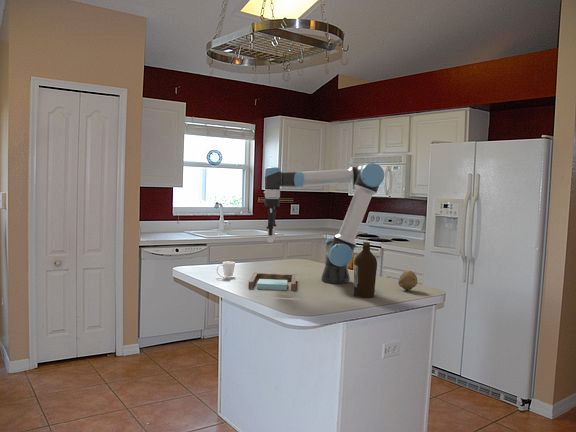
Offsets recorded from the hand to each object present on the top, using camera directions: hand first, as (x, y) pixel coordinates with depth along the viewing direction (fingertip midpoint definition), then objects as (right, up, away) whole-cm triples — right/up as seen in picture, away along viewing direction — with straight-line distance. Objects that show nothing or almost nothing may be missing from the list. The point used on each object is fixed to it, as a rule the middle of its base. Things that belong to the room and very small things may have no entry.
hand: (271, 240), depth 259 cm
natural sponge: (+68, -25, -3) cm, 72 cm away
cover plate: (+1, -22, -11) cm, 24 cm away
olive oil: (+44, -25, -19) cm, 54 cm away
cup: (-24, -20, +13) cm, 34 cm away
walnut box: (+1, -22, -4) cm, 23 cm away
